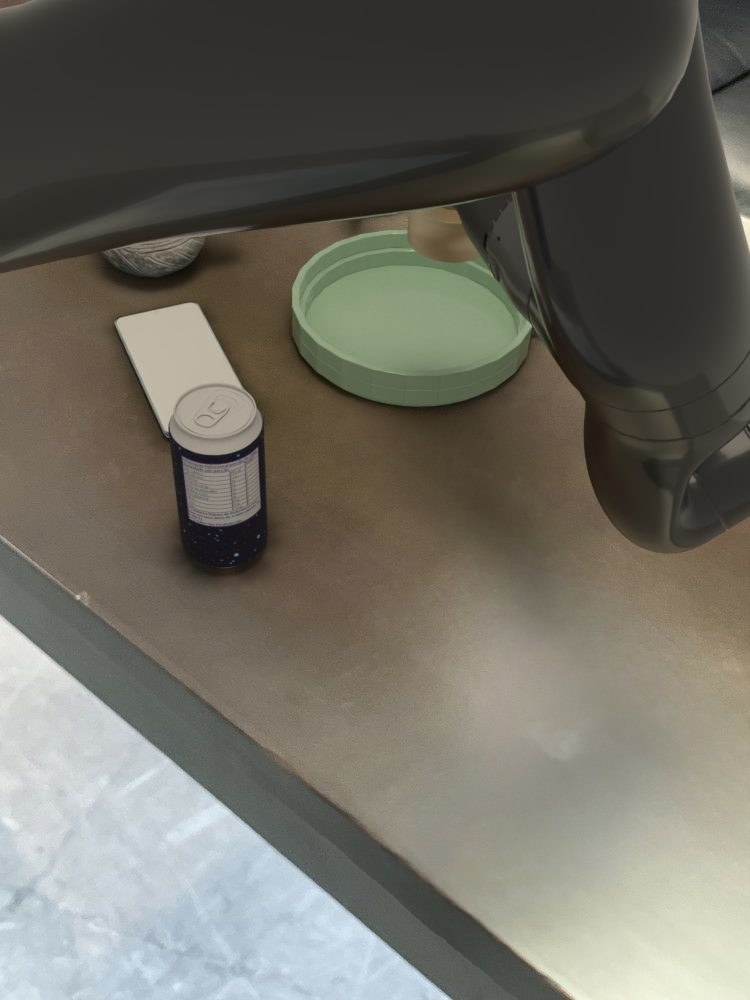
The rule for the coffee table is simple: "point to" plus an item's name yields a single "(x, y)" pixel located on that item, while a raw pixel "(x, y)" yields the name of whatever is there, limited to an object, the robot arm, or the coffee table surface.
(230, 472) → the beverage can
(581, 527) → the coffee table surface
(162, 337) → the smartphone
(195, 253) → the mug
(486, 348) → the pan
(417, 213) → the brush
